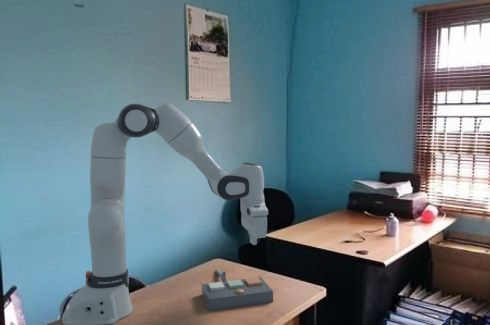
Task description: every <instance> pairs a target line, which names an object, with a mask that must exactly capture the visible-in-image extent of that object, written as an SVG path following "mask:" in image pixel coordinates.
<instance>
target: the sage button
mask: <svg viewBox="0 0 490 325" xmlns="http://www.w3.org/2000/svg"><path fill="white" fill-rule="evenodd" d="M226 281H227V286H228V288H229V289H236V288H244V284H243V283H242V282H241V279H233V280H226Z"/></svg>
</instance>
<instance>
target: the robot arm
mask: <svg viewBox="0 0 490 325" xmlns="http://www.w3.org/2000/svg"><path fill="white" fill-rule="evenodd" d="M153 132H154V133H156V134H158V135H159V136H161V138H162V139H163V141H165V142H166V143H167V144H168V146H169V147H171V148H172V149H173V150H174V151H175V152H176V153H177V154H178V155H180V156H182V157H183V158H185V159H187V160H189V161H190V162H191V163H193V165H194V166H196V168H197V169H198V170H199V171H200V172H201V173H202V174H203V176H204V177H206V179H207V183H208V185H209V188H210V190H211V192H212V193H213V194H214V195H216V196H217V197H219V198H221V199H223V200H225V201H234V200H239V199H240V212H241V217H240V218H241V220H240V221H241V226H242V227H243V228H244V229H245V230H246V231H247V232H248V237H249V243H250V244H252V245H253V246H257V244H258V239H261V238H266V237H267V233H268V217H267V216H268V215H269V210H268V207H267V206H266V203H265V199H266V198H265V194H264V189H265V177H264V171H263V167H262V166H261V165H259V164H257V163H254V162H247V161H246V162H242V163H241V164H240V165H239V166H237V167H236V168H234V169H232V170H230V171H229V170H227V169H224V168H222V167H221V166H219V165H218V164H217V163H216V161H215V160H214V159H213V158H212V156H211V155H210V154H209V153H208V151H207V150H206V149H205V147H204V137H203V136H202V134H201V132H200V130H199V129H198V128H197V127H196V125H195V124H194V123H193V122H192V121H191V119H190V118H189V117H188V116H187V115H185V113H184V112H183V111H181V110H180V109H179V108H178V107H176V106H175V105H173V104H172V103H169V102H166V103H161V104H159V105H158V106H157V107H155V108H152V107H149V106H146V105H144V104H140V103H130V104H128V105H126V106H123V108H122V109H121V110H120V112H119V113H118V115H117V117H116V120H115V121H113V122H104V123H101V124H98V125H97V126H96V127H94V131H93V136H92V139H91V147H90V167H89V168H90V171H89V172H90V174H89V182H90V183H89V184H90V208H89V209H90V210H89V213H88V216H87V225H88V235H89V246H90V251H91V252H90V254H91V255H90V256H91V270H87V271H86V272H85V285H84V286H83V287H81V288H80V289H79V290H78V291H77V292H75V293H74V294H73V296H72V297H71V299H70V302H69V304H68V305H69V306H68V308H67V309H65V310H64V312H63V314H62V316H61V323H62V325H113V324H114V323H116V322H117V321H119V320H121V319H124V318H126V317H127V316H129V315H130V314H131V313H132V312H133V311H134V307H133V304H132V300H131V296H130V292H129V283H130V282H129V281H130V279H129V278H130V277H129V271H128V270H129V269H128V268H127V250H126V249H127V248H126V232H125V229H126V227H125V224H126V223H125V203H126V201H125V195H126V170H127V169H126V167H127V166H126V163H127V162H126V161H127V159H126V158H127V156H126V155H127V144H128V141H129V140H130V139H131V138H142V137H145V136H146V135H149V134H151V133H153Z"/></svg>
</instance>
